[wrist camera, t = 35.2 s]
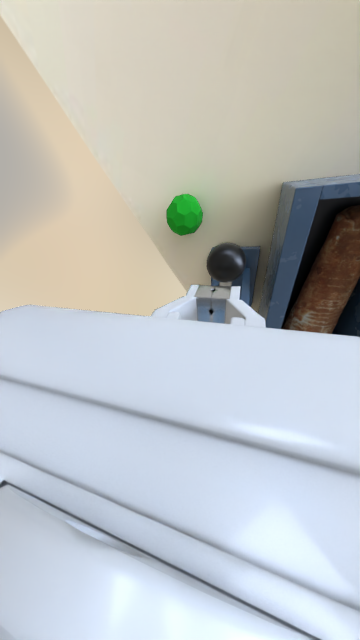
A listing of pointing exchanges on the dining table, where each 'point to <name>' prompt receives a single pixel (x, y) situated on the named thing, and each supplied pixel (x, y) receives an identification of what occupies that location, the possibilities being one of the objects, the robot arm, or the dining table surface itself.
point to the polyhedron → (184, 214)
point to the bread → (329, 277)
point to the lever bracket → (246, 275)
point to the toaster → (306, 246)
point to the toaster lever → (226, 263)
